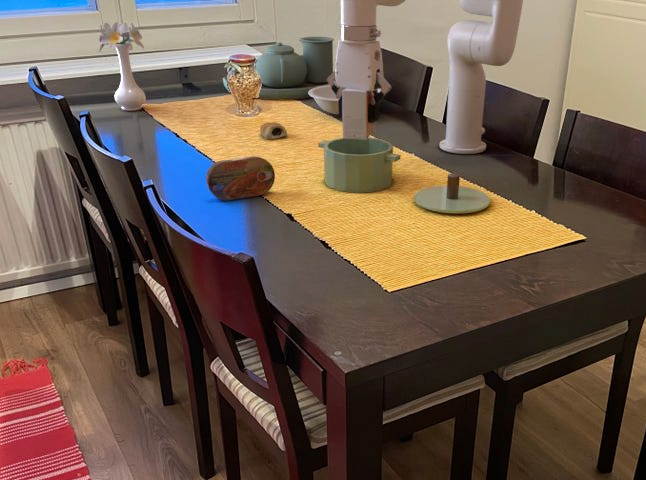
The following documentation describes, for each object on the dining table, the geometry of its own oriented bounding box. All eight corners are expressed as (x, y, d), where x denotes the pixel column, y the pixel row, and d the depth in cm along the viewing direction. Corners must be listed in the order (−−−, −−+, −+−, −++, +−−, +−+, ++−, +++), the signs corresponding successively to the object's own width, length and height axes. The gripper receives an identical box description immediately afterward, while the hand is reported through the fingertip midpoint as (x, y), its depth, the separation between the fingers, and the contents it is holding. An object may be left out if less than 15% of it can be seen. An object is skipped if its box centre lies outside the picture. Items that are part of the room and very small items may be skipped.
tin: (210, 203, 160) (206, 164, 156) (206, 198, 162) (202, 160, 158) (276, 193, 166) (274, 156, 162) (271, 189, 169) (269, 152, 164)
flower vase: (147, 100, 243) (135, 17, 230) (156, 113, 228) (143, 24, 215) (105, 103, 238) (91, 18, 225) (112, 116, 224) (96, 26, 211)
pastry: (255, 132, 211) (254, 118, 209) (277, 130, 214) (276, 116, 212) (266, 140, 204) (265, 126, 202) (289, 138, 206) (289, 124, 205)
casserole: (339, 166, 185) (339, 131, 180) (413, 180, 176) (414, 145, 171) (302, 182, 173) (301, 146, 169) (379, 199, 164) (380, 161, 160)
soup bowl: (400, 112, 235) (400, 90, 232) (357, 127, 218) (357, 104, 214) (338, 101, 246) (338, 81, 242) (293, 115, 228) (292, 93, 225)
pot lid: (435, 186, 173) (437, 159, 169) (501, 199, 166) (504, 171, 162) (400, 206, 160) (401, 178, 157) (470, 221, 153) (472, 192, 150)
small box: (366, 140, 165) (366, 91, 160) (342, 139, 166) (341, 90, 160) (374, 132, 172) (374, 84, 166) (350, 130, 173) (350, 83, 167)
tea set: (304, 74, 286) (303, 27, 277) (357, 93, 257) (357, 42, 249) (206, 83, 267) (201, 34, 259) (251, 105, 239) (247, 51, 230)
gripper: (402, 35, 157) (400, 121, 166) (334, 28, 164) (335, 111, 173) (384, 39, 151) (383, 128, 160) (314, 32, 159) (317, 117, 168)
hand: (358, 118), depth 167 cm, fingers closed on small box, 7 cm apart
